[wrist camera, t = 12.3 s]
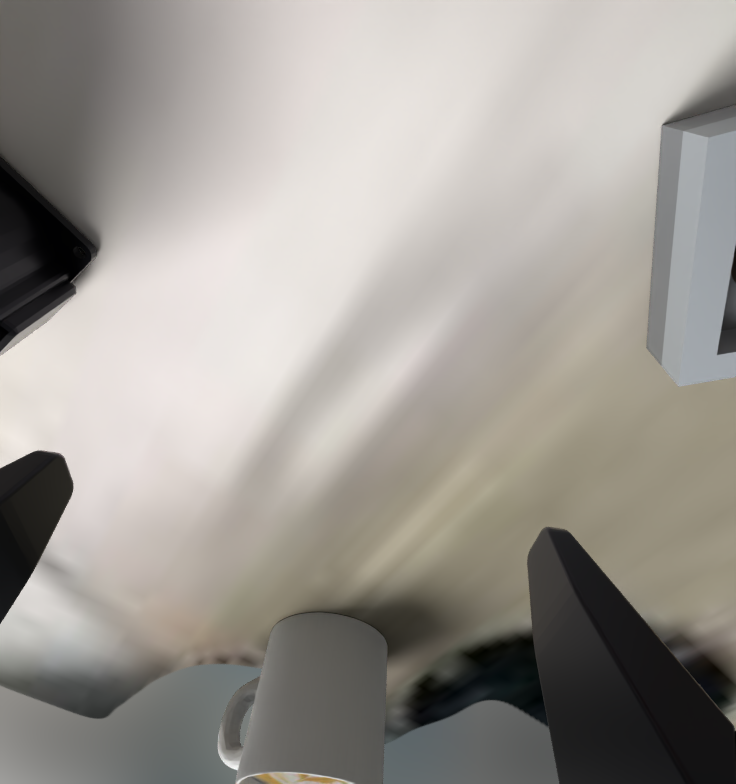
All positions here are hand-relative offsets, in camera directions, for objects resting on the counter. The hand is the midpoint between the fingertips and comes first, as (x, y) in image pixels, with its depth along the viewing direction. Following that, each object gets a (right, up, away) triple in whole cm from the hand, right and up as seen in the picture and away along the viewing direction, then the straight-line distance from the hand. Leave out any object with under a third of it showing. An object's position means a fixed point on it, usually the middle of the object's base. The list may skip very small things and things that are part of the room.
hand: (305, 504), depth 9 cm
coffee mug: (-4, -19, +31) cm, 36 cm away
